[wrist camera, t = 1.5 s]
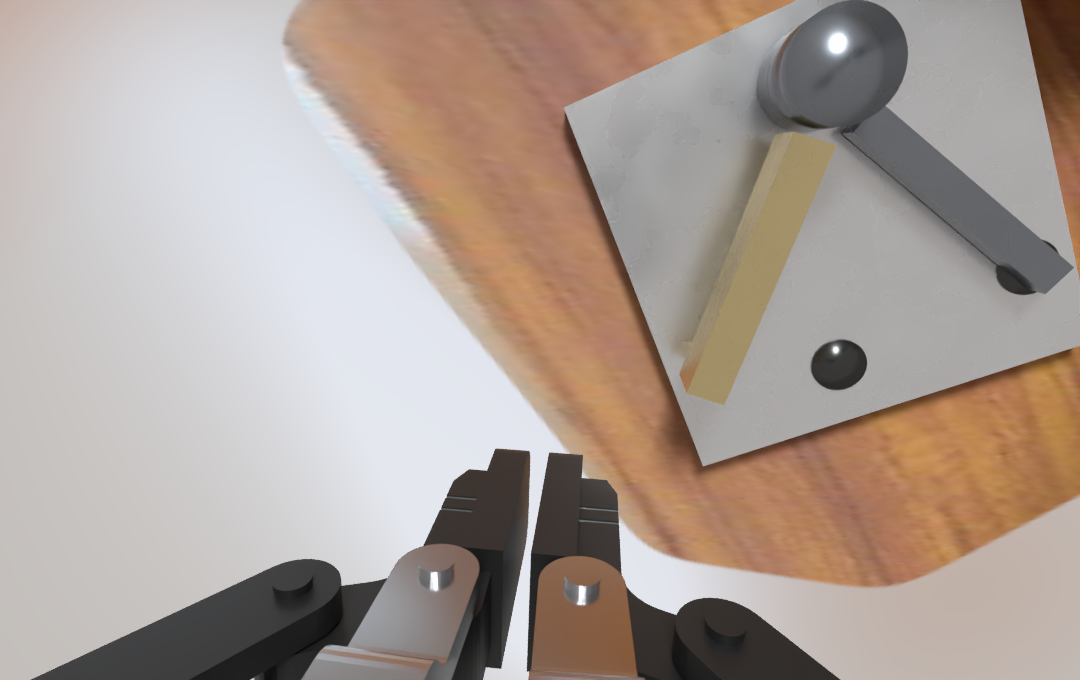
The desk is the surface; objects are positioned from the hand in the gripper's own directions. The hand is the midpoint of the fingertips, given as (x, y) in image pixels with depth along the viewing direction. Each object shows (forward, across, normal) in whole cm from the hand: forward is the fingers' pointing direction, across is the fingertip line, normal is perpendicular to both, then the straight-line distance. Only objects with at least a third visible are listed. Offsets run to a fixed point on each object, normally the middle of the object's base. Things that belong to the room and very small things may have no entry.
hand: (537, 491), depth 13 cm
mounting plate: (+17, -11, -5) cm, 21 cm away
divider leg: (+16, -7, -3) cm, 17 cm away
